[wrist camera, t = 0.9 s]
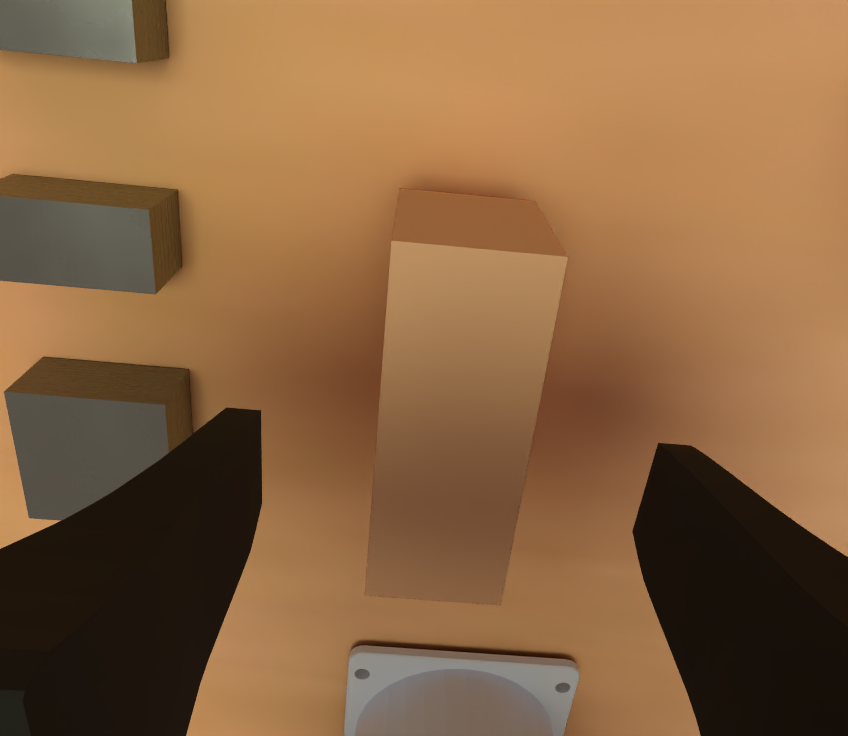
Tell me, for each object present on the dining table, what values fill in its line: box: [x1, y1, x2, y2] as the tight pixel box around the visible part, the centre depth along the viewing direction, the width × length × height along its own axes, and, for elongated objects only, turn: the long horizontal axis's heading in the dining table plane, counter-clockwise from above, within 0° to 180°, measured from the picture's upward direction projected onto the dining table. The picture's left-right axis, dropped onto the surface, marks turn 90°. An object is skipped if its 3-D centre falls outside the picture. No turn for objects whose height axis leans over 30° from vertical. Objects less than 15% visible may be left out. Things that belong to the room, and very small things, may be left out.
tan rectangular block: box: [365, 188, 568, 605], centre depth 16 cm, size 8×3×6 cm, turn 175°
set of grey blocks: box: [0, 0, 193, 520], centre depth 17 cm, size 16×4×2 cm, turn 175°
